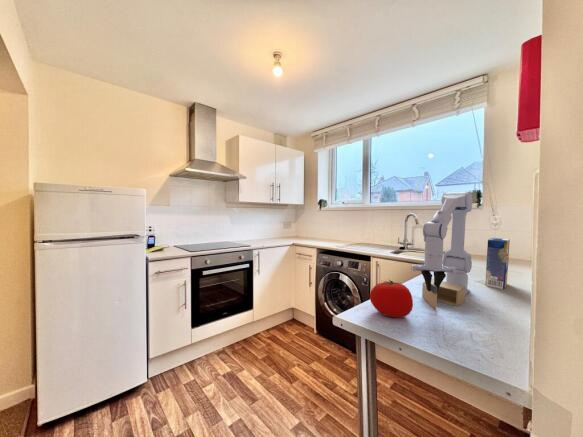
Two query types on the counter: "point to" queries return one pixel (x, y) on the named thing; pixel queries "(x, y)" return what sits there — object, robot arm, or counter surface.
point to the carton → (450, 293)
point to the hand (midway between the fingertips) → (432, 290)
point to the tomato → (392, 299)
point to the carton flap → (430, 295)
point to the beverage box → (497, 262)
